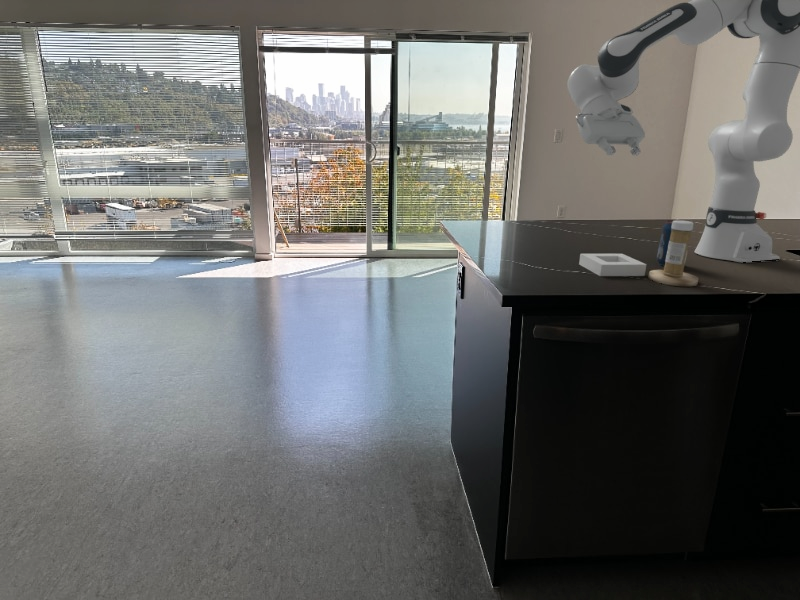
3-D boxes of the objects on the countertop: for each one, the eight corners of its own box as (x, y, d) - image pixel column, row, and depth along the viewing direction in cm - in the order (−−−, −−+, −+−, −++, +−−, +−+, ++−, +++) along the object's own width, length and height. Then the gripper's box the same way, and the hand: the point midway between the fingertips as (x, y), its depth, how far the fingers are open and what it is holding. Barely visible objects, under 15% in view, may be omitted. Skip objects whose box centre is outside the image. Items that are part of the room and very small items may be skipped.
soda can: (688, 266, 140) (697, 223, 137) (674, 269, 137) (683, 225, 133) (664, 260, 146) (672, 219, 142) (650, 263, 142) (658, 221, 139)
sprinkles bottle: (686, 276, 126) (697, 222, 121) (676, 278, 123) (688, 223, 119) (667, 271, 129) (678, 219, 125) (658, 274, 127) (669, 220, 122)
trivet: (679, 274, 132) (679, 269, 132) (707, 286, 122) (708, 281, 121) (639, 274, 131) (640, 269, 130) (665, 286, 121) (666, 281, 120)
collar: (620, 264, 141) (621, 253, 140) (644, 275, 130) (646, 264, 129) (579, 264, 139) (580, 253, 139) (600, 276, 128) (601, 264, 127)
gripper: (581, 104, 133) (604, 144, 128) (635, 108, 141) (659, 145, 136) (566, 122, 138) (588, 162, 133) (619, 124, 147) (642, 161, 141)
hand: (624, 153), depth 135 cm, fingers open, 8 cm apart
